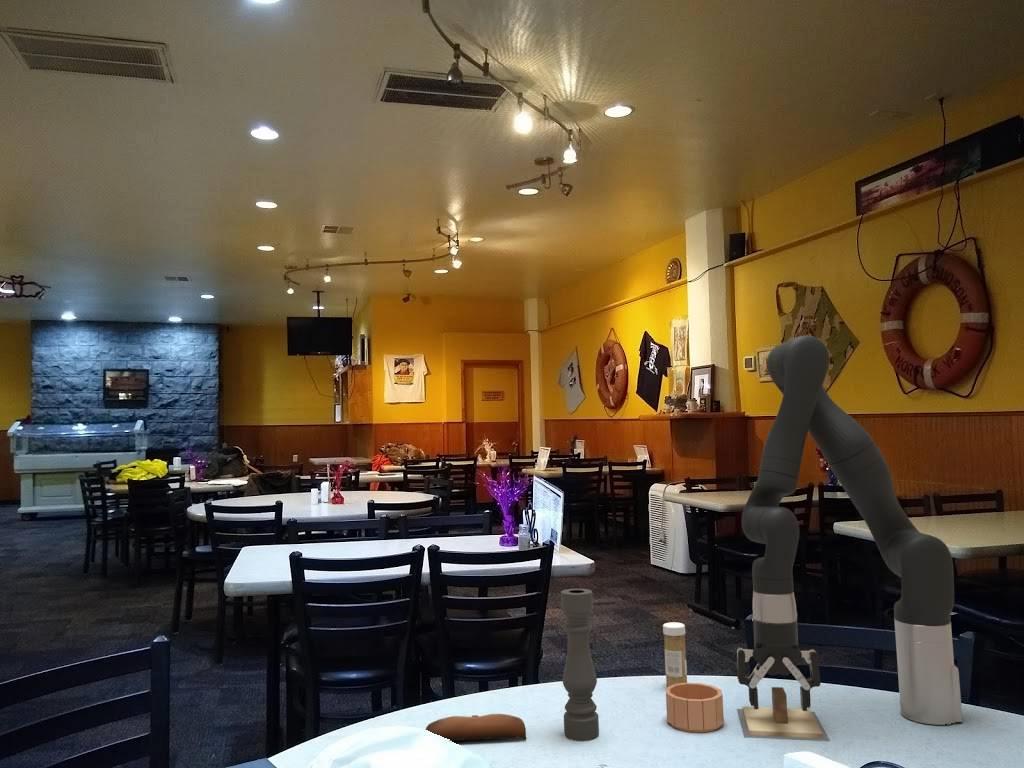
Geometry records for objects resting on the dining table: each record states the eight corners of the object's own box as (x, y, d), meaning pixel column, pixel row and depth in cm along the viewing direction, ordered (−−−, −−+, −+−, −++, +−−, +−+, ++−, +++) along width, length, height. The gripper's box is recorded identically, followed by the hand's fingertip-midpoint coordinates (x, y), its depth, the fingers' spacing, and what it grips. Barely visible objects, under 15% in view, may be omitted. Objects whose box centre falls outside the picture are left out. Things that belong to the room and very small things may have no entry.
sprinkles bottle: (692, 689, 157) (689, 623, 158) (680, 695, 154) (676, 627, 155) (673, 685, 160) (670, 620, 161) (661, 690, 157) (658, 624, 158)
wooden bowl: (721, 716, 142) (720, 683, 142) (725, 737, 132) (724, 701, 132) (667, 714, 144) (665, 681, 144) (667, 734, 134) (665, 699, 134)
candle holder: (603, 730, 136) (598, 589, 138) (592, 743, 131) (587, 595, 133) (571, 725, 139) (566, 587, 141) (559, 738, 133) (554, 593, 135)
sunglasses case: (523, 722, 141) (523, 697, 138) (526, 756, 135) (526, 730, 132) (426, 728, 140) (424, 702, 137) (424, 762, 133) (423, 736, 130)
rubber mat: (814, 714, 141) (814, 711, 141) (830, 743, 127) (830, 741, 128) (736, 711, 144) (736, 708, 144) (744, 739, 130) (744, 737, 130)
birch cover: (809, 713, 140) (807, 681, 141) (822, 738, 129) (820, 703, 129) (742, 710, 143) (740, 679, 143) (749, 735, 131) (747, 700, 132)
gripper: (812, 612, 140) (817, 703, 138) (732, 611, 142) (736, 700, 141) (820, 622, 132) (826, 718, 131) (735, 620, 135) (740, 714, 134)
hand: (779, 708), depth 136 cm, fingers open, 8 cm apart
